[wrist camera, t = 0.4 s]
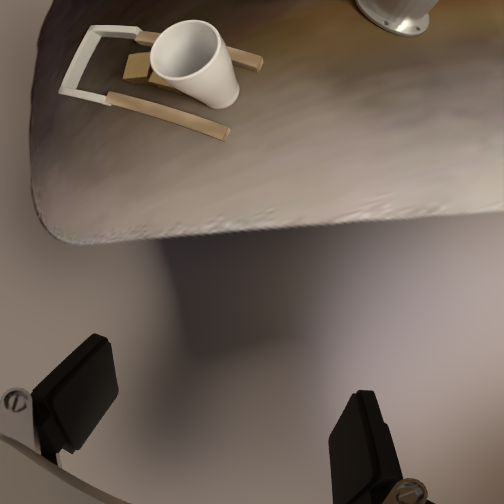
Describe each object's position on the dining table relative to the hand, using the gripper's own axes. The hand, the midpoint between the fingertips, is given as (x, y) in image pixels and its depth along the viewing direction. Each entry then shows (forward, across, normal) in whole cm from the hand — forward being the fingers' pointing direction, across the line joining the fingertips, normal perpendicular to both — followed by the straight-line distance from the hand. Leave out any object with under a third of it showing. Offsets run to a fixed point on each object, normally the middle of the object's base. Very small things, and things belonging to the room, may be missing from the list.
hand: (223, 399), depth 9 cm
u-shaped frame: (+30, +31, -24) cm, 49 cm away
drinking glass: (+30, +9, -18) cm, 36 cm away
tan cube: (+30, +21, -22) cm, 42 cm away
